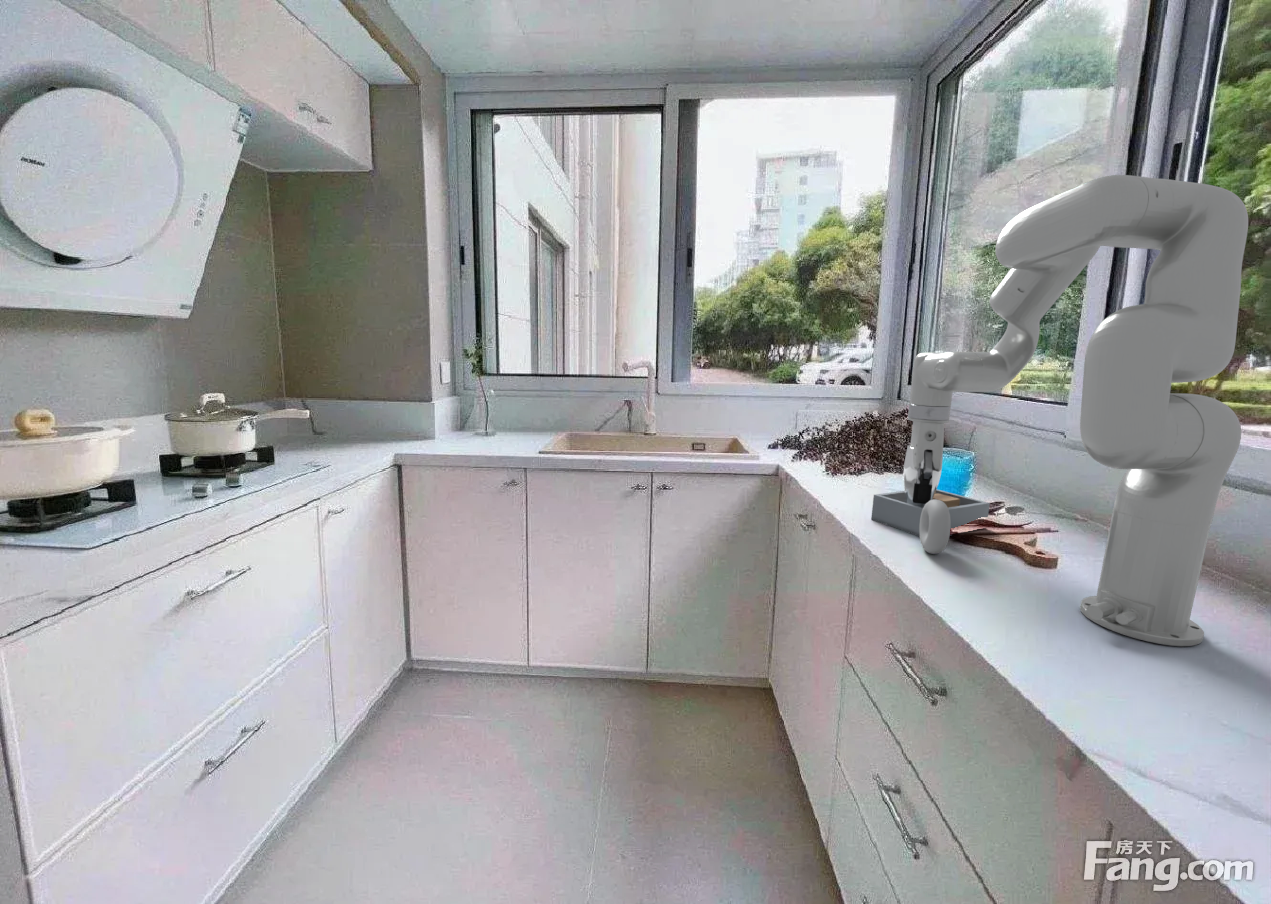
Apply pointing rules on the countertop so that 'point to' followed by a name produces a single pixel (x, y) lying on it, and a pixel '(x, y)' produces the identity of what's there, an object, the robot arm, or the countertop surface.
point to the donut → (934, 526)
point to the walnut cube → (947, 500)
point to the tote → (908, 516)
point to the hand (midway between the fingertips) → (918, 498)
